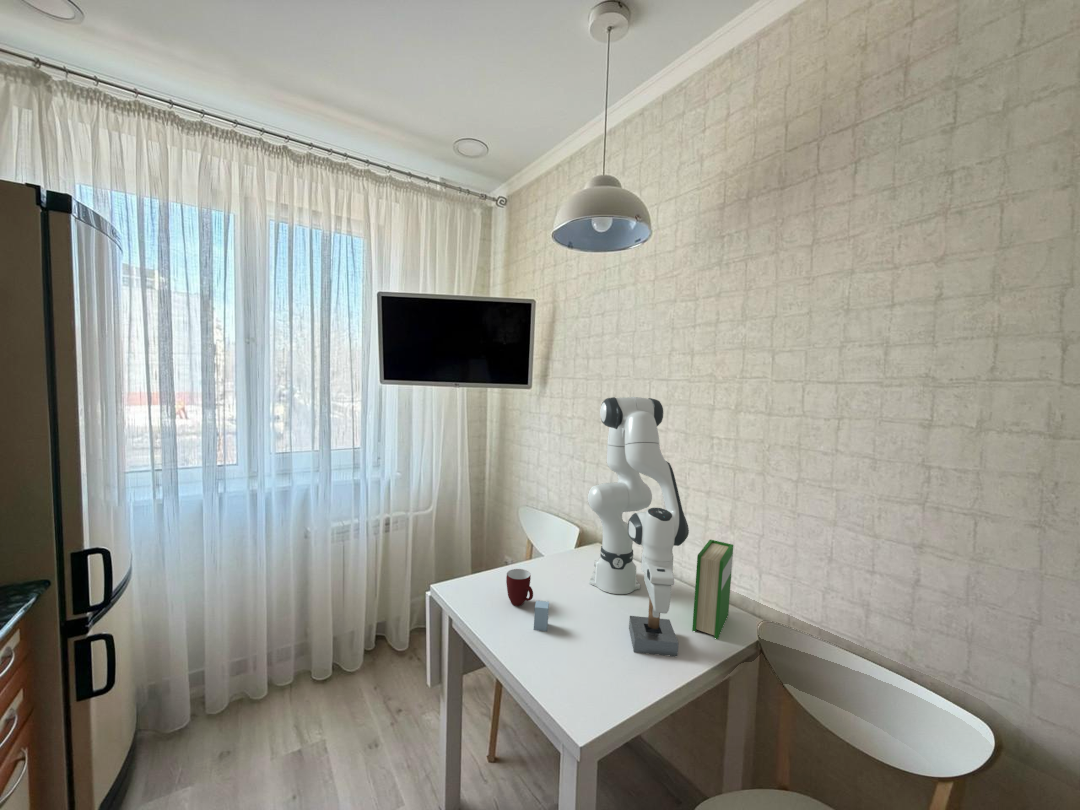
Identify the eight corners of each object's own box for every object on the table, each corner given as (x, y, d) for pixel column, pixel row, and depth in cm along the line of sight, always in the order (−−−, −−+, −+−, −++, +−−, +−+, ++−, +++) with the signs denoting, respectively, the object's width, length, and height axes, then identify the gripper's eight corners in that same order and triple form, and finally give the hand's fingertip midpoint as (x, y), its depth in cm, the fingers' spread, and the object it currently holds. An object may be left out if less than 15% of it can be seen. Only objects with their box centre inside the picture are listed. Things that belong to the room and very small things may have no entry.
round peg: (647, 622, 127) (648, 592, 127) (658, 623, 127) (659, 593, 126) (648, 628, 124) (650, 597, 124) (660, 629, 124) (661, 598, 123)
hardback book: (717, 640, 128) (723, 561, 127) (692, 631, 133) (697, 555, 131) (728, 615, 143) (733, 544, 142) (705, 607, 147) (710, 539, 146)
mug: (540, 604, 144) (541, 575, 143) (526, 614, 137) (527, 584, 137) (514, 594, 150) (516, 566, 149) (500, 603, 143) (501, 574, 142)
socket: (628, 628, 132) (629, 615, 132) (668, 632, 131) (669, 619, 131) (633, 652, 120) (634, 638, 120) (677, 656, 119) (678, 642, 119)
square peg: (534, 622, 133) (536, 600, 133) (547, 623, 132) (549, 601, 132) (533, 629, 129) (534, 607, 129) (546, 631, 129) (548, 608, 128)
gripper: (640, 551, 135) (638, 594, 136) (651, 580, 115) (648, 630, 115) (661, 552, 135) (658, 596, 135) (675, 582, 114) (672, 632, 115)
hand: (654, 612), depth 125 cm, fingers closed on round peg, 3 cm apart
